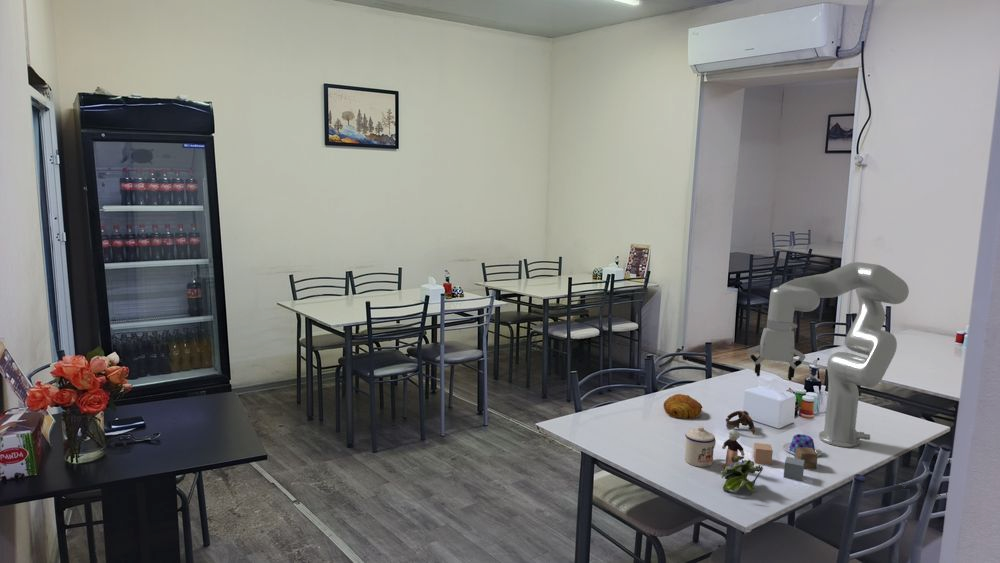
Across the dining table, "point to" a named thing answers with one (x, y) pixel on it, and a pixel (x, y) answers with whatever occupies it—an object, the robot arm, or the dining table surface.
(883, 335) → the robot arm
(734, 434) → the grandmother figurine
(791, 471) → the slate grey cube
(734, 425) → the brown curved piece
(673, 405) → the croissant
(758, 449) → the terracotta cube
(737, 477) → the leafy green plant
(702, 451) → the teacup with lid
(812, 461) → the walnut cube
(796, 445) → the purple patterned hat
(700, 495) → the dining table surface
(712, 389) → the dining table surface
